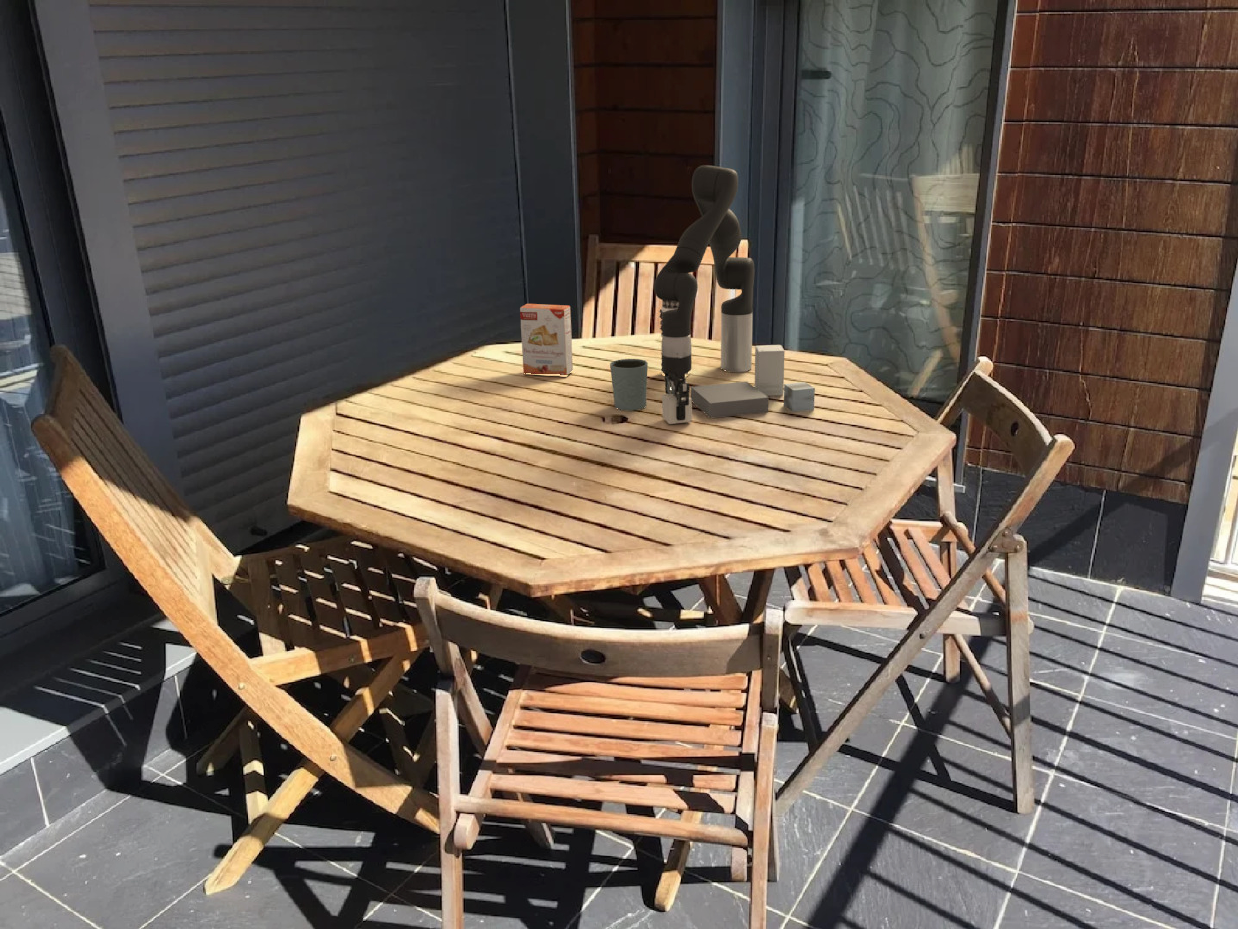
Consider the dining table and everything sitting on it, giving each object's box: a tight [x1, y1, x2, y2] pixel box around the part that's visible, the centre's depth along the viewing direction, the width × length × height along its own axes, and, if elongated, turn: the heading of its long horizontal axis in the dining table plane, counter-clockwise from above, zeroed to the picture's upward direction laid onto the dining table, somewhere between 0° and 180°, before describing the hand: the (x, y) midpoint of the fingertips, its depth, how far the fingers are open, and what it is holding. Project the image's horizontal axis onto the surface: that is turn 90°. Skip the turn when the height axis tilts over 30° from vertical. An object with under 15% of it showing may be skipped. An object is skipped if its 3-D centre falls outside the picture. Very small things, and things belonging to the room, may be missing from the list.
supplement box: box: [754, 344, 786, 397], centre depth 287 cm, size 7×7×13 cm
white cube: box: [661, 393, 693, 425], centre depth 265 cm, size 6×6×6 cm
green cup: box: [609, 358, 649, 412], centre depth 278 cm, size 10×10×12 cm
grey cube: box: [783, 381, 816, 413], centre depth 274 cm, size 6×6×6 cm
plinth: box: [690, 381, 770, 419], centre depth 276 cm, size 16×16×4 cm
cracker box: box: [519, 303, 574, 375], centre depth 308 cm, size 14×6×21 cm, turn 73°
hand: (677, 415), depth 266 cm, fingers closed on white cube, 6 cm apart
